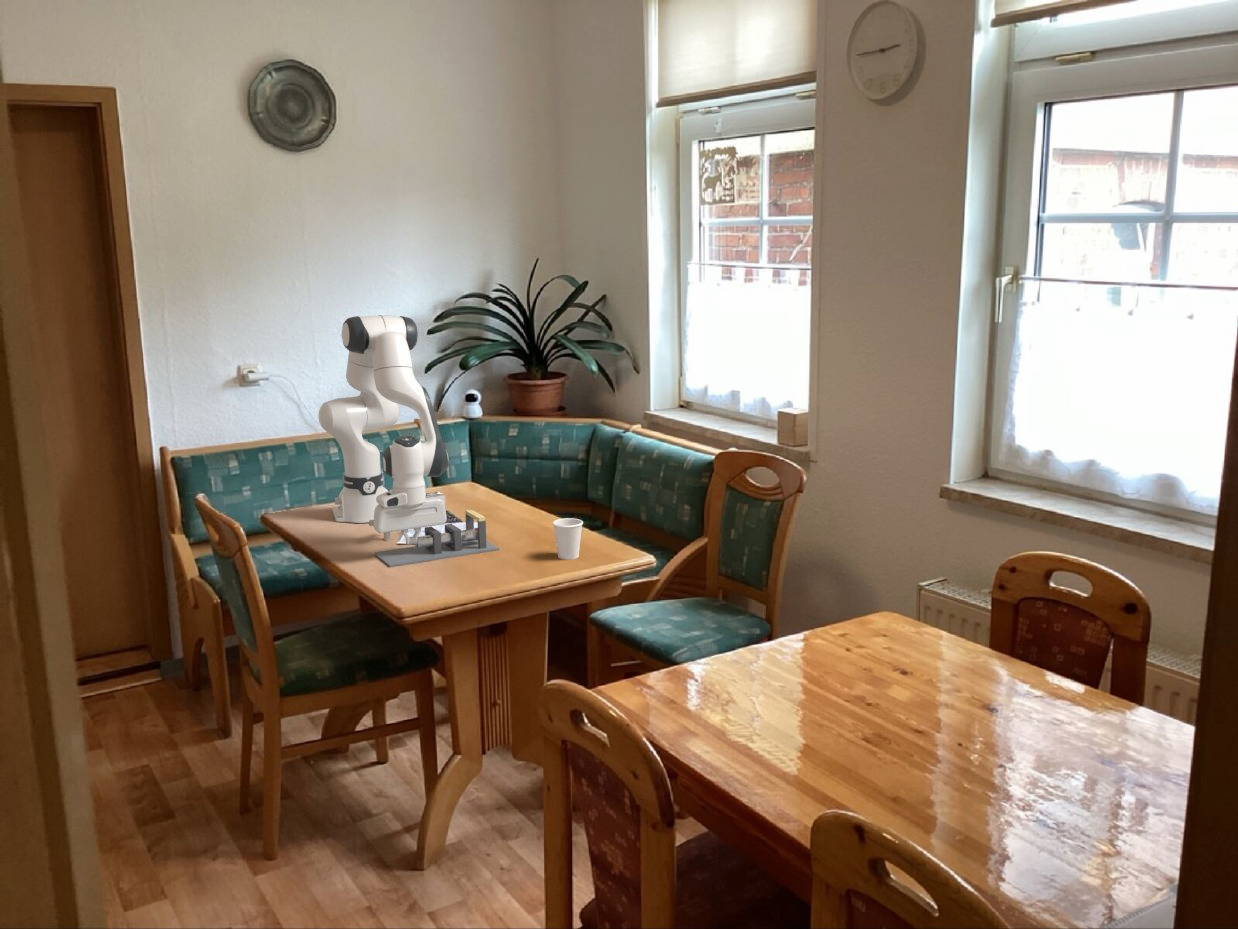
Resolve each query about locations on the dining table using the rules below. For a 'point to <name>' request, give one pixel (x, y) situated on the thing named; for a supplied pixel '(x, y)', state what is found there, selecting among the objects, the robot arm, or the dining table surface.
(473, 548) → the collar board
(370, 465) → the robot arm
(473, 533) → the tube
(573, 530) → the dixie cup
